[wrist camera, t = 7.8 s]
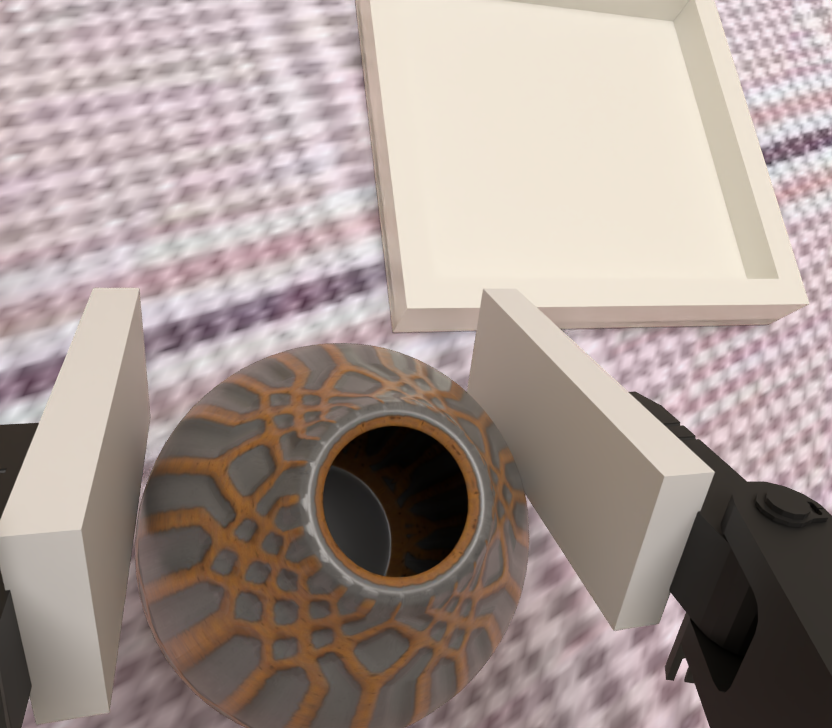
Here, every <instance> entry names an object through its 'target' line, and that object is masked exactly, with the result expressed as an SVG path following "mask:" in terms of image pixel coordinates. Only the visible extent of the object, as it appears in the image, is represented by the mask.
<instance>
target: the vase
mask: <svg viewBox="0 0 832 728" xmlns="http://www.w3.org/2000/svg"><path fill="white" fill-rule="evenodd" d="M528 554H529V520H528V509H527V503H526V497H525V493H524V488H523V484H522V481H521V477H520V474H519V471H518V468H517V466H516V463H515V461H514V458H513V456H512V454H511V452H510V449H509V447H508V445H507V443H506V442H505V440H504V438H503V436H502V434H501V433H500V431H499V430H498V428H497V427H496V425H495V424H494V422H493V421H492V420H491V418H490V417H489V416H488V414H487V413H486V412H485V411H484V409H483V408H482V407H481V406H480V405H479V404H478V403H477V402H476V401H475V400H474V399H473V398H472V397H471V396H470V395H469V394H468V393H467V392H466V391H465V390H464V389H463V388H461V387H460V386H459V385H458V384H457V383H455V382H454V381H453V380H451V379H450V378H449V377H447V376H446V375H444V374H443V373H441V372H439V371H438V370H436V369H435V368H433V367H431V366H429V365H427V364H425V363H424V362H421V361H419V360H417V359H415V358H413V357H410V356H408V355H405V354H402V353H399V352H396V351H393V350H389V349H386V348H381V347H376V346H371V345H363V344H351V343H329V344H318V345H310V346H304V347H299V348H295V349H291V350H287V351H284V352H281V353H278V354H275V355H272V356H269V357H267V358H264V359H262V360H259V361H257V362H255V363H253V364H251V365H249V366H247V367H245V368H243V369H241V370H240V371H238V372H236V373H235V374H233V375H231V376H230V377H228V378H227V379H226V380H224V381H223V382H221V383H220V384H219V385H217V386H216V387H215V388H214V389H212V390H211V391H210V392H209V393H208V394H206V395H205V396H204V397H203V398H202V399H201V400H200V401H199V402H198V403H197V404H196V405H195V406H194V407H193V408H192V409H191V410H190V411H189V412H188V413H187V414H186V416H185V417H184V418H183V419H182V420H181V421H180V423H179V424H178V425H177V427H176V428H175V430H174V431H173V432H172V434H171V435H170V437H169V438H168V440H167V442H166V443H165V445H164V446H163V448H162V450H161V452H160V454H159V456H158V458H157V460H156V462H155V464H154V466H153V469H152V471H151V473H150V476H149V478H148V481H147V484H146V487H145V490H144V493H143V497H142V501H141V505H140V509H139V514H138V520H137V526H136V538H135V565H136V577H137V583H138V589H139V594H140V598H141V602H142V606H143V610H144V613H145V616H146V619H147V621H148V624H149V627H150V629H151V631H152V633H153V636H154V638H155V640H156V642H157V644H158V646H159V647H160V649H161V651H162V653H163V655H164V656H165V658H166V659H167V661H168V662H169V664H170V665H171V666H172V668H173V669H174V670H175V672H176V673H177V674H178V676H179V677H180V678H181V679H182V680H183V681H184V682H185V683H186V684H187V686H188V687H189V688H190V689H191V690H192V691H193V692H194V693H195V694H196V695H197V696H198V697H200V698H201V699H202V700H203V701H204V702H205V703H207V704H208V705H209V706H210V707H212V708H213V709H215V710H216V711H217V712H219V713H220V714H222V715H223V716H225V717H227V718H229V719H230V720H232V721H234V722H235V723H237V724H240V725H242V726H244V727H246V728H405V727H407V726H409V725H411V724H413V723H415V722H417V721H419V720H421V719H422V718H424V717H426V716H427V715H429V714H431V713H432V712H434V711H435V710H437V709H438V708H439V707H441V706H442V705H444V704H445V703H447V702H448V701H449V700H450V699H452V698H453V697H454V696H455V695H456V694H458V693H459V692H460V691H461V690H462V689H463V688H464V687H465V686H466V685H467V684H468V683H469V682H470V681H471V680H472V679H473V678H474V677H475V676H476V675H477V673H478V672H479V671H480V670H481V669H482V668H483V666H484V665H485V664H486V662H487V661H488V660H489V658H490V657H491V656H492V654H493V653H494V651H495V649H496V648H497V646H498V645H499V643H500V642H501V640H502V638H503V636H504V634H505V633H506V631H507V629H508V627H509V625H510V622H511V620H512V618H513V616H514V613H515V611H516V608H517V605H518V602H519V599H520V596H521V592H522V589H523V585H524V580H525V575H526V570H527V563H528Z"/></svg>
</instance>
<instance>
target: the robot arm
mask: <svg viewBox="0 0 832 728" xmlns="http://www.w3.org/2000/svg"><path fill="white" fill-rule="evenodd" d="M467 393H468V394H469V395H470V396H471V397H472V398H473V399H474V400H475V401H476V402H477V403H478V404H479V405H480V406H481V407H482V408H483V409H484V411H485V412H486V413H487V414H488V416H489V417H490V418H491V420H492V421H493V422H494V424H495V425H496V427H497V428H498V430H499V431H500V433H501V434H502V436H503V438H504V440H505V442H506V443H507V445H508V447H509V449H510V452H511V454H512V456H513V458H514V461H515V463H516V466H517V468H518V471H519V474H520V477H521V481H522V484H523V488H524V493H525V494H526V496H527V497H528V499H529V501H530V502H531V504H532V505H533V507H534V508H535V510H536V511H537V513H538V514H539V516H540V518H541V519H542V521H543V522H544V524H545V525H546V527H547V528H548V530H549V531H550V533H551V535H552V536H553V538H554V539H555V541H556V542H557V544H558V545H559V547H560V548H561V550H562V552H563V553H564V555H565V556H566V558H567V559H568V561H569V562H570V564H571V565H572V567H573V569H574V570H575V572H576V573H577V575H578V576H579V578H580V579H581V581H582V582H583V584H584V586H585V587H586V589H587V590H588V592H589V593H590V595H591V596H592V598H593V600H594V601H595V603H596V604H597V606H598V607H599V609H600V610H601V612H602V613H603V615H604V617H605V618H606V620H607V621H608V623H609V624H610V626H611V627H612V629H613V630H614V631H617V630H623V629H629V628H635V627H642V626H648V625H654V624H659V622H660V620H661V617H662V614H663V612H664V609H665V606H666V603H667V601H668V598H669V595H670V592H671V593H672V595H673V596H674V597H675V598H676V600H677V601H678V602H679V603H680V605H681V606H682V607H683V609H684V610H685V611H686V614H685V616H684V619H683V622H682V624H681V627H680V629H679V632H678V634H677V637H676V640H675V642H674V645H673V647H672V650H671V652H670V655H669V658H668V660H667V663H666V665H665V672H666V680H673V681H674V679H675V676H676V674H677V671H678V669H679V666H680V664H681V661H682V659H683V658H686V660H687V663H688V666H689V667H688V670H687V672H686V676H685V679H684V681H685V682H689V683H695V686H696V689H697V691H698V694H699V697H700V700H701V703H702V706H703V709H704V712H705V715H706V717H707V720H708V723H709V726H710V728H832V516H831V515H830V514H829V513H828V512H827V511H826V510H825V509H824V508H823V507H822V506H821V505H820V504H818V503H817V502H816V501H814V500H812V499H810V498H809V497H807V496H806V495H804V494H802V493H799V492H797V491H795V490H792V489H790V488H787V487H785V486H781V485H777V484H772V483H768V482H747V481H746V480H745V479H743V478H742V477H741V476H740V475H739V474H738V473H737V472H736V471H734V470H733V469H732V468H731V467H730V466H729V465H728V464H727V463H725V462H724V461H723V460H722V459H721V458H720V457H719V456H718V455H716V454H715V453H714V452H713V451H712V450H711V449H710V448H709V447H707V446H706V445H705V444H704V443H703V442H702V441H701V440H699V439H697V440H696V439H695V435H694V434H693V433H692V432H690V431H689V430H688V429H687V428H686V427H685V426H680V422H679V421H678V420H677V419H676V418H675V417H674V416H672V415H671V414H670V413H669V412H668V411H667V410H666V409H665V408H663V407H662V406H661V405H659V404H657V403H655V402H654V401H652V400H650V399H648V398H646V397H644V396H642V395H640V394H639V393H637V392H628V391H627V390H625V389H624V388H623V387H622V386H621V385H620V384H619V383H618V382H617V381H616V380H615V379H614V378H612V377H611V376H610V375H609V374H608V373H607V372H606V371H605V370H604V369H603V368H602V367H601V366H600V365H598V364H597V363H596V362H595V361H594V360H593V359H592V358H591V357H590V356H589V355H588V354H587V353H585V352H584V351H583V350H582V349H581V348H580V347H579V346H578V345H577V344H576V343H575V342H574V341H572V340H571V339H570V338H569V337H568V336H567V335H566V334H565V333H564V332H563V331H562V330H561V329H559V328H558V327H557V326H556V325H555V324H554V323H553V322H552V321H551V320H550V319H549V318H548V317H547V316H545V315H544V314H543V313H542V312H541V311H540V310H539V309H538V308H537V307H536V306H535V305H534V304H532V303H531V302H530V301H529V300H528V299H527V298H526V297H525V296H524V295H523V294H522V293H521V292H519V291H518V290H517V289H483V292H482V298H481V305H480V311H479V317H478V324H477V330H476V337H475V343H474V349H473V356H472V362H471V369H470V375H469V381H468V388H467ZM149 423H150V406H149V394H148V383H147V371H146V360H145V348H144V336H143V325H142V313H141V302H140V290H139V288H93V290H92V293H91V295H90V298H89V300H88V303H87V305H86V308H85V310H84V313H83V315H82V318H81V320H80V323H79V325H78V328H77V330H76V333H75V335H74V338H73V340H72V343H71V345H70V348H69V350H68V353H67V355H66V358H65V360H64V363H63V365H62V368H61V370H60V372H59V375H58V377H57V380H56V382H55V385H54V387H53V390H52V392H51V395H50V397H49V400H48V402H47V405H46V407H45V410H44V412H43V415H42V417H41V420H40V422H39V423H28V424H8V425H0V728H21V727H22V723H23V719H24V715H25V711H26V707H27V703H28V699H29V696H30V700H31V704H32V709H33V713H34V717H35V722H36V725H38V724H44V723H50V722H56V721H63V720H69V719H75V718H81V717H87V716H93V715H100V714H106V713H109V712H110V705H111V697H112V690H113V683H114V676H115V669H116V661H117V654H118V647H119V640H120V633H121V625H122V618H123V611H124V604H125V596H126V589H127V582H128V575H129V568H130V560H131V553H132V546H133V539H134V532H135V524H136V517H137V510H138V503H139V496H140V488H141V481H142V474H143V467H144V460H145V452H146V445H147V438H148V431H149Z"/></svg>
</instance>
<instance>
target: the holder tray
mask: <svg viewBox="0 0 832 728" xmlns="http://www.w3.org/2000/svg"><path fill="white" fill-rule="evenodd" d="M355 3H356V12H357V21H358V30H359V39H360V47H361V56H362V65H363V74H364V83H365V92H366V101H367V109H368V118H369V127H370V136H371V145H372V154H373V162H374V171H375V180H376V189H377V198H378V207H379V216H380V224H381V233H382V242H383V251H384V260H385V269H386V278H387V286H388V295H389V304H390V313H391V322H392V331H393V332H436V331H476V330H477V324H478V317H479V311H480V305H481V298H482V292H483V289H517V290H518V291H519V292H521V293H522V294H523V295H524V296H525V297H526V298H527V299H528V300H529V301H530V302H531V303H532V304H534V305H535V306H536V307H537V308H538V309H539V310H540V311H541V312H542V313H543V314H544V315H545V316H547V317H548V318H549V319H550V320H551V321H552V322H553V323H554V324H555V325H556V326H557V327H558V328H559V329H581V328H629V327H677V326H725V325H769V324H771V323H773V322H775V321H777V320H779V319H781V318H783V317H785V316H787V315H789V314H791V313H793V312H795V311H797V310H799V309H801V308H803V307H805V306H807V305H809V301H808V298H807V295H806V292H805V288H804V285H803V282H802V279H801V276H800V272H799V269H798V266H797V263H796V260H795V256H794V253H793V250H792V247H791V244H790V240H789V237H788V234H787V231H786V228H785V225H784V221H783V218H782V215H781V212H780V209H779V205H778V202H777V199H776V196H775V193H774V189H773V186H772V183H771V180H770V177H769V173H768V170H767V167H766V164H765V161H764V157H763V154H762V151H761V148H760V145H759V142H758V138H757V135H756V132H755V129H754V126H753V122H752V119H751V116H750V113H749V110H748V106H747V103H746V100H745V97H744V94H743V90H742V87H741V84H740V81H739V78H738V74H737V71H736V68H735V65H734V62H733V58H732V55H731V52H730V49H729V46H728V43H727V39H726V36H725V33H724V30H723V27H722V23H721V20H720V17H719V14H718V11H717V7H716V4H715V1H714V0H355Z"/></svg>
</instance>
